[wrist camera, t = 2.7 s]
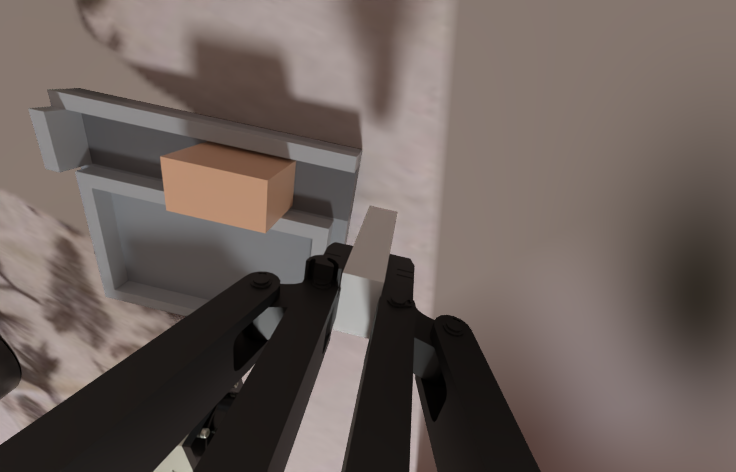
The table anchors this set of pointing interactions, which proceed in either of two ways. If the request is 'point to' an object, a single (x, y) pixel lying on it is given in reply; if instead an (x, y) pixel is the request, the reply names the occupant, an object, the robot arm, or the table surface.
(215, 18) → the table surface
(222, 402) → the pneumatic valve
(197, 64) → the table surface
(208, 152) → the tan cardboard box
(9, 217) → the table surface
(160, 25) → the table surface
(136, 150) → the grey tray
